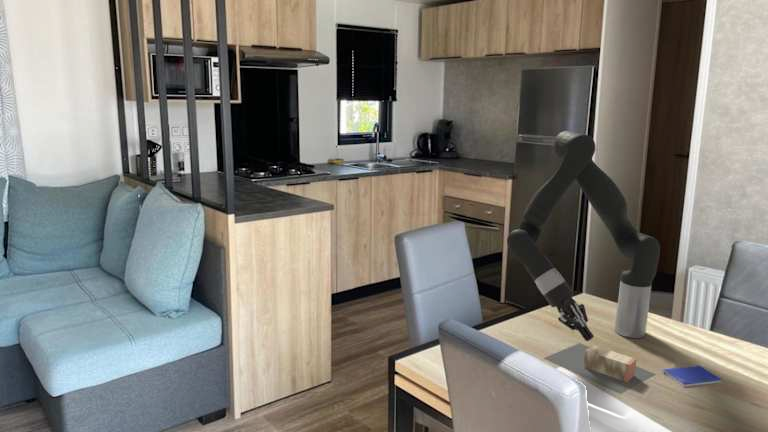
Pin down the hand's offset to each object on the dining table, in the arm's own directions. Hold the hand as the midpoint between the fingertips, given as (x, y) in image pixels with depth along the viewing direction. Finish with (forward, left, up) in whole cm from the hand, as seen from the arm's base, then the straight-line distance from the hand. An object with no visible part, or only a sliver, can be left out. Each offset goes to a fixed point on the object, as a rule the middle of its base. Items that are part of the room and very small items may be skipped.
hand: (590, 339), depth 159 cm
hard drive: (-18, +20, -9) cm, 29 cm away
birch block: (0, 0, -5) cm, 5 cm away
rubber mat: (-2, +2, -8) cm, 9 cm away
